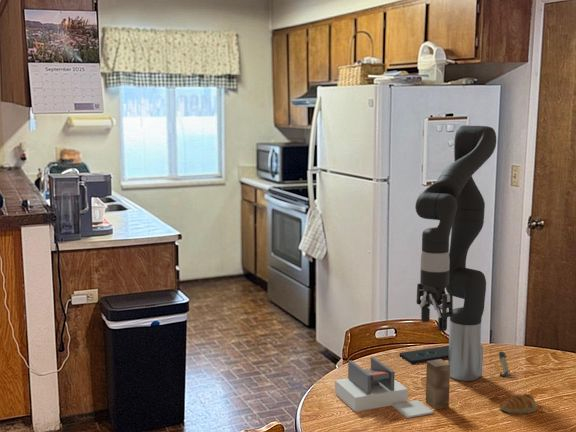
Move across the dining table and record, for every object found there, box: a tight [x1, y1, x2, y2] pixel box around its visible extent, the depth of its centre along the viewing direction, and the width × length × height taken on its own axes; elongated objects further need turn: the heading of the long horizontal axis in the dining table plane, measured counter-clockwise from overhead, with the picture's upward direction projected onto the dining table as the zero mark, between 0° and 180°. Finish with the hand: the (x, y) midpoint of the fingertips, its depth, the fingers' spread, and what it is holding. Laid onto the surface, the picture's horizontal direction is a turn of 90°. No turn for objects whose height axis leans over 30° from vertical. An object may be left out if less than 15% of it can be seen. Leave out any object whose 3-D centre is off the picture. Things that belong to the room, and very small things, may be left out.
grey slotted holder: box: [334, 356, 409, 412], centre depth 193 cm, size 16×13×9 cm
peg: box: [425, 359, 451, 410], centre depth 189 cm, size 4×4×12 cm
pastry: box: [500, 393, 538, 415], centre depth 186 cm, size 9×7×4 cm
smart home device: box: [399, 345, 449, 365], centre depth 227 cm, size 8×2×20 cm
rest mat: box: [391, 399, 435, 419], centre depth 186 cm, size 8×8×1 cm
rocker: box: [364, 369, 389, 380], centre depth 193 cm, size 5×12×1 cm, turn 21°
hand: (433, 326), depth 187 cm, fingers open, 8 cm apart
